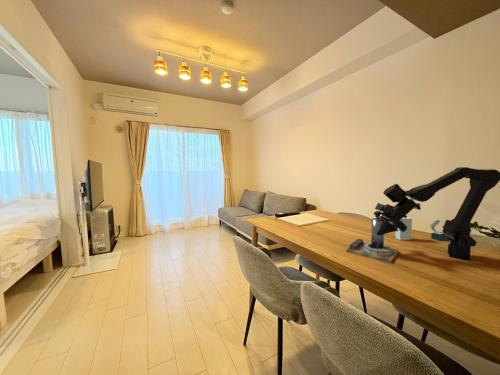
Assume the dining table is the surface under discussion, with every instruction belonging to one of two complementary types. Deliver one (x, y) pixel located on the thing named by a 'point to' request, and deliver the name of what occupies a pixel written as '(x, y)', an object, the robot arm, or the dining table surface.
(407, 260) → the dining table surface
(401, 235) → the skincare box
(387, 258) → the jig
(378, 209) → the robot arm
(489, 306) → the dining table surface
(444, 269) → the dining table surface
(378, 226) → the dark grey cylinder
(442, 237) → the watch
